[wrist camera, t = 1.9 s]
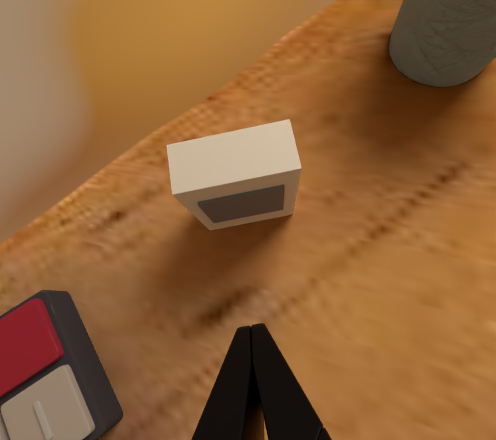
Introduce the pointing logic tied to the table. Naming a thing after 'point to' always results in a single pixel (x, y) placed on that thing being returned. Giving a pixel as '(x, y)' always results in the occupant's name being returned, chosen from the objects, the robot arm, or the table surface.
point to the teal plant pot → (443, 40)
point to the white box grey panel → (237, 175)
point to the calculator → (52, 374)
